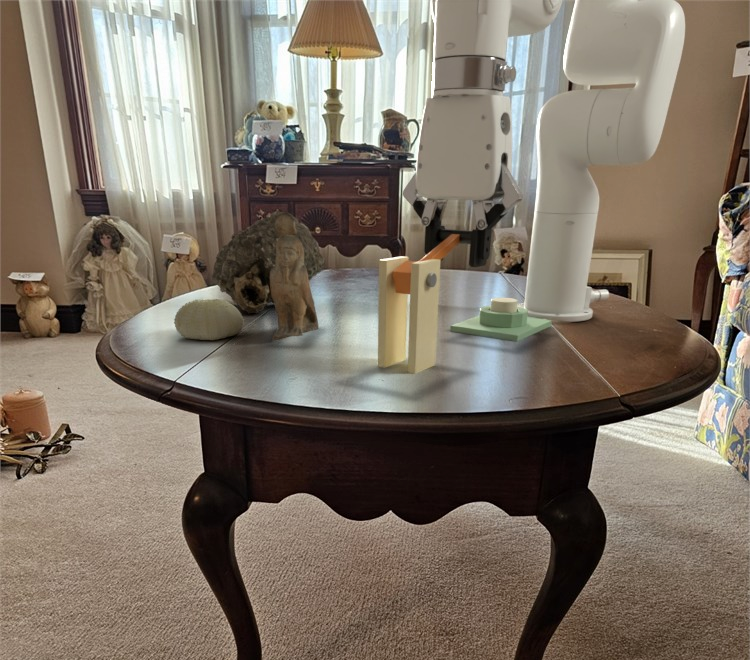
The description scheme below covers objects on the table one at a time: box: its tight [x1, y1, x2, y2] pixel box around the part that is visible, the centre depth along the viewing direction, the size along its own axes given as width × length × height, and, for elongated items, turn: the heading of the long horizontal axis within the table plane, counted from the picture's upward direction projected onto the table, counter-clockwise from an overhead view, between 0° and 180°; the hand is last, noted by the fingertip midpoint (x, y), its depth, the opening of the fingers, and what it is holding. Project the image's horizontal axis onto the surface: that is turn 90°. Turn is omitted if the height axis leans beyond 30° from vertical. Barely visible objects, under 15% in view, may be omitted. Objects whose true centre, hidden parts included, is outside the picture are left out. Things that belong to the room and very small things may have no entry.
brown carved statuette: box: [270, 212, 319, 342], centre depth 88 cm, size 12×6×18 cm, turn 170°
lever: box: [393, 228, 473, 295], centre depth 73 cm, size 13×5×2 cm, turn 145°
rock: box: [211, 209, 326, 314], centre depth 109 cm, size 18×14×15 cm
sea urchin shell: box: [173, 298, 244, 342], centre depth 92 cm, size 9×8×8 cm
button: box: [490, 297, 519, 313], centre depth 91 cm, size 4×4×2 cm
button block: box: [449, 305, 553, 342], centre depth 92 cm, size 12×10×4 cm
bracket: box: [377, 255, 442, 374], centre depth 72 cm, size 12×9×13 cm
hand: (455, 262), depth 77 cm, fingers closed on lever, 5 cm apart
